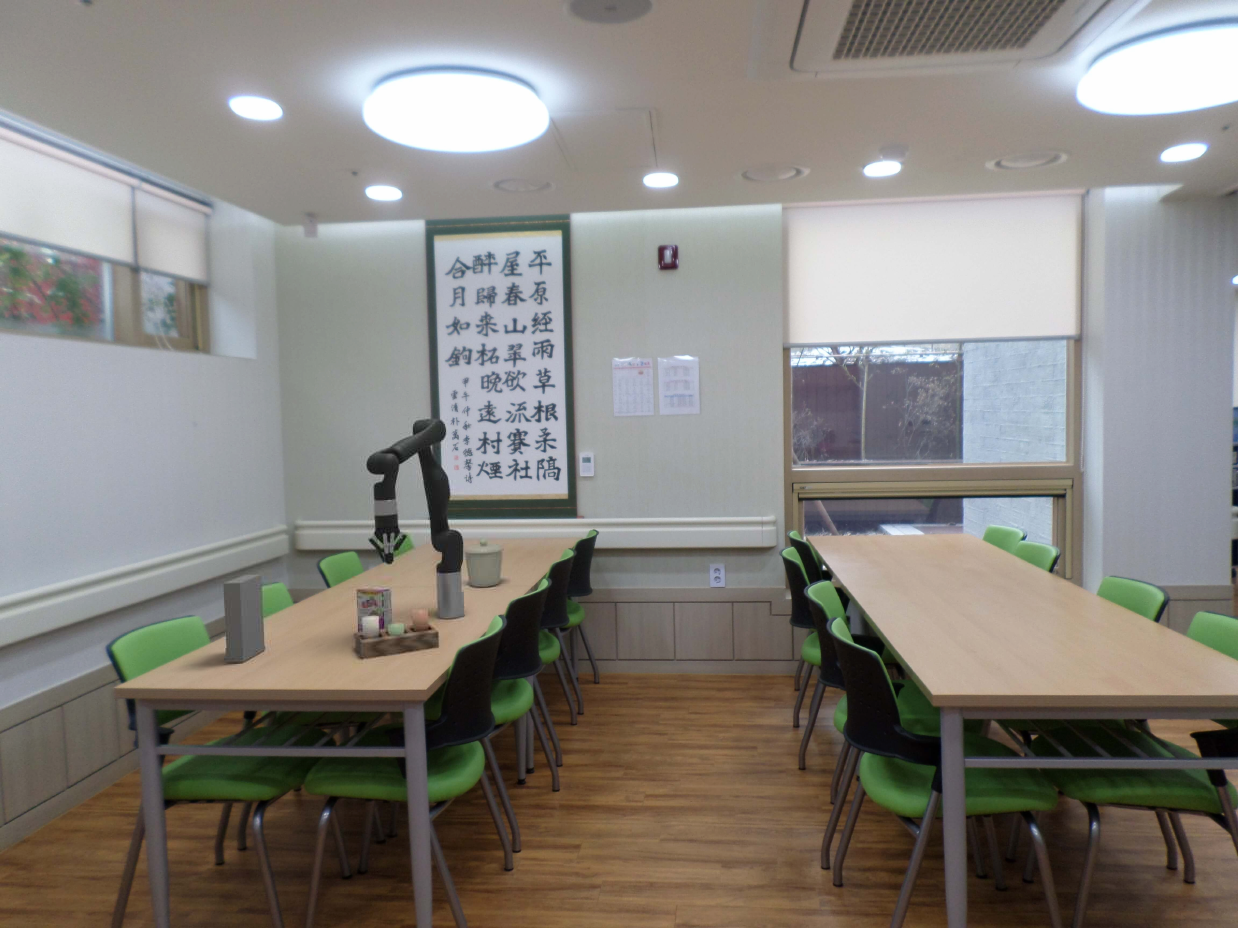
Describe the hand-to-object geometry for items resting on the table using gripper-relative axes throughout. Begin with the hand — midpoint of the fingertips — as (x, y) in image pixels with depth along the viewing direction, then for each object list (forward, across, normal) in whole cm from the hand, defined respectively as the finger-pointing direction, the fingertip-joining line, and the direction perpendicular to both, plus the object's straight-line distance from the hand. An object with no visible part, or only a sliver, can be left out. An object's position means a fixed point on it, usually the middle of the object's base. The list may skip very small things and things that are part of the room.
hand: (389, 563), depth 261 cm
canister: (+28, -58, -69) cm, 94 cm away
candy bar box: (+26, +4, -10) cm, 28 cm away
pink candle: (+22, -6, +11) cm, 26 cm away
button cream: (+22, +9, +10) cm, 26 cm away
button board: (+26, +2, +10) cm, 28 cm away
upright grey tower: (+25, +45, -7) cm, 52 cm away
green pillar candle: (+26, +2, +11) cm, 28 cm away
